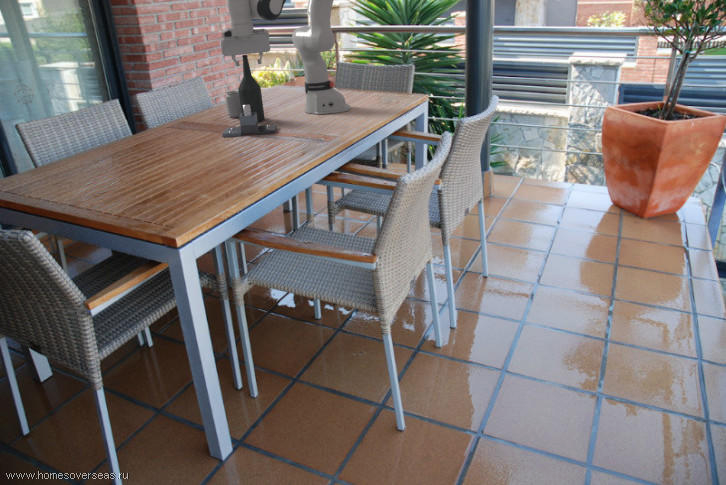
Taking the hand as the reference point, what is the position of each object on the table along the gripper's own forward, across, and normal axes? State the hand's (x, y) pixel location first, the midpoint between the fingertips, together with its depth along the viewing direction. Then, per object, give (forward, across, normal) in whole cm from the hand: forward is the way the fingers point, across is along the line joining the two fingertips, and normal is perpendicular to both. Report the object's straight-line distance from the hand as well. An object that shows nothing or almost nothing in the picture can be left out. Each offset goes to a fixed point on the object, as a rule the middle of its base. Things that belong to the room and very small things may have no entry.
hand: (248, 64), depth 243 cm
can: (+28, +14, -28) cm, 43 cm away
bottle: (+28, +4, -16) cm, 33 cm away
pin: (+28, +4, +6) cm, 28 cm away
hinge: (+28, +4, +6) cm, 28 cm away
